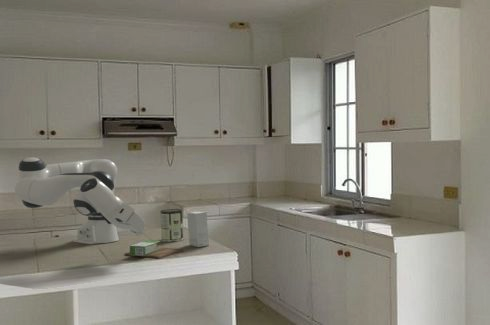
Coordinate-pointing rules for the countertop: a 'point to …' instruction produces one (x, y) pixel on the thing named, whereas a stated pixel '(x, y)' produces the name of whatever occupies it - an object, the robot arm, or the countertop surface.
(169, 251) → the walnut board
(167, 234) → the coffee can
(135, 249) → the ink box
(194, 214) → the skincare box
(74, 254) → the countertop surface
